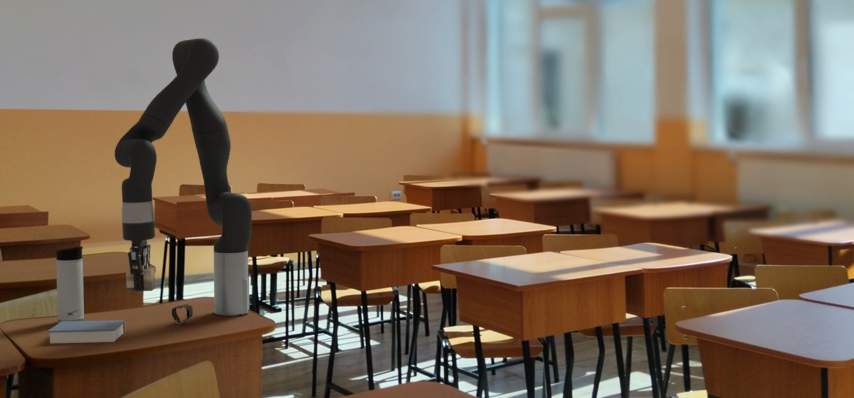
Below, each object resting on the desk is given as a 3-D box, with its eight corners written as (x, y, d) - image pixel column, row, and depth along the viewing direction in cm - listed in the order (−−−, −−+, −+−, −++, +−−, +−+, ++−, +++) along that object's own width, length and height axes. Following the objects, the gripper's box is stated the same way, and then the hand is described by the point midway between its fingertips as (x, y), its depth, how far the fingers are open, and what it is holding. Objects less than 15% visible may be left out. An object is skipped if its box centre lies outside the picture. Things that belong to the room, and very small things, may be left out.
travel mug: (75, 325, 205) (73, 248, 204) (52, 324, 207) (50, 247, 205) (90, 320, 211) (88, 245, 210) (67, 319, 213) (66, 244, 211)
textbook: (125, 333, 199) (125, 320, 199) (114, 343, 189) (114, 329, 189) (61, 335, 197) (61, 321, 197) (48, 345, 187) (47, 330, 187)
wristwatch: (189, 325, 207) (188, 306, 206) (171, 324, 208) (170, 305, 208) (195, 322, 210) (194, 303, 209) (177, 321, 211) (177, 302, 210)
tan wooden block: (155, 287, 202) (154, 268, 201) (152, 290, 198) (151, 270, 197) (130, 288, 201) (129, 268, 200) (126, 291, 197) (125, 271, 196)
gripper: (147, 222, 191) (150, 293, 193) (159, 216, 205) (162, 282, 207) (115, 223, 190) (118, 294, 192) (129, 217, 204) (132, 283, 206)
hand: (141, 288), depth 199 cm, fingers closed on tan wooden block, 4 cm apart
